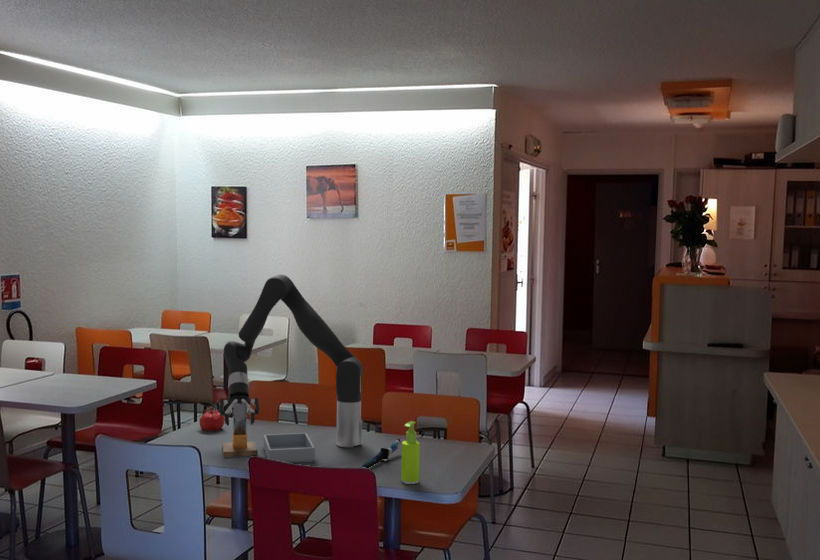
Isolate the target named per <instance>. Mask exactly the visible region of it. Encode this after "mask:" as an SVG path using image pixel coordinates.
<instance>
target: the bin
mask: <svg viewBox="0 0 820 560" xmlns="http://www.w3.org/2000/svg"><path fill="white" fill-rule="evenodd" d="M315 449H316V447H315V445H314V444H313V442H312V440H311V438H310V436H309V435H308V433H307V432H296V433H293V432H292V433H275V434H274V433H271V434H263V451H264V450H265V451H264V454H265V456H266V459H267V458H270V459H274V460H279V461H285V462H291V463H290V464H297V463H298V464H301V463H315V462H316V461H315V459H316V458H315V457H316V454H315V453H316V450H315Z"/></svg>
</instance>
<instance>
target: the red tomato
mask: <svg viewBox="0 0 820 560" xmlns="http://www.w3.org/2000/svg"><path fill="white" fill-rule="evenodd" d="M209 409H210V410H208V409H204V413H203V414H202V415H201V416H200V417H199V427H200V429H201V430H202V431H206V432H212V431H213V432H216V431H219V430H221V429H222V428H223V427H224V425H225V417H224V416H220V409H217V410H214V409H213V406H209Z"/></svg>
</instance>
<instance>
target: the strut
mask: <svg viewBox="0 0 820 560" xmlns="http://www.w3.org/2000/svg"><path fill="white" fill-rule="evenodd" d="M232 413H233V414H232V416H233V419H232V421H233V422H232V433H231V434H232V435H231V436H232V442H231V443H232V446H233V449H238V448H247V442H248V432H247V428H248V427H247V425H248V424H247V421H248V419H247V418H248V416H247V415H248V413H247V403H245V402H236V403H233V412H232Z"/></svg>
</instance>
